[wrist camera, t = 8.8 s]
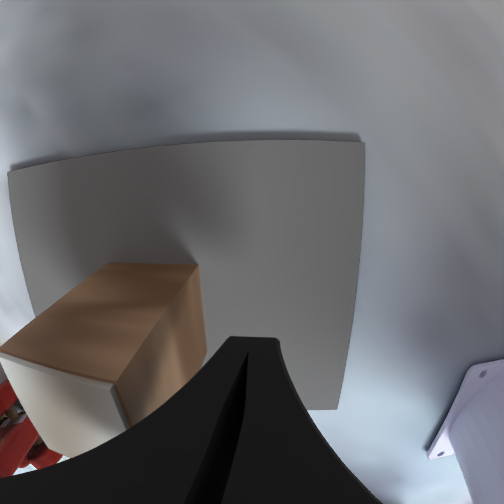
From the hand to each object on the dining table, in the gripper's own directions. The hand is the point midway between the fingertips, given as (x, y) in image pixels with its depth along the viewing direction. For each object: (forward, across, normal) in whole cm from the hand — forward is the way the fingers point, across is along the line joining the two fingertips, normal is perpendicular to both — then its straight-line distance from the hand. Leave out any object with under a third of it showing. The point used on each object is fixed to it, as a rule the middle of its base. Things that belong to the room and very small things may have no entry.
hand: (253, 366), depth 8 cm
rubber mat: (+4, +4, 0) cm, 6 cm away
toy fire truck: (+5, +20, +13) cm, 25 cm away
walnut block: (+4, +4, +1) cm, 6 cm away
